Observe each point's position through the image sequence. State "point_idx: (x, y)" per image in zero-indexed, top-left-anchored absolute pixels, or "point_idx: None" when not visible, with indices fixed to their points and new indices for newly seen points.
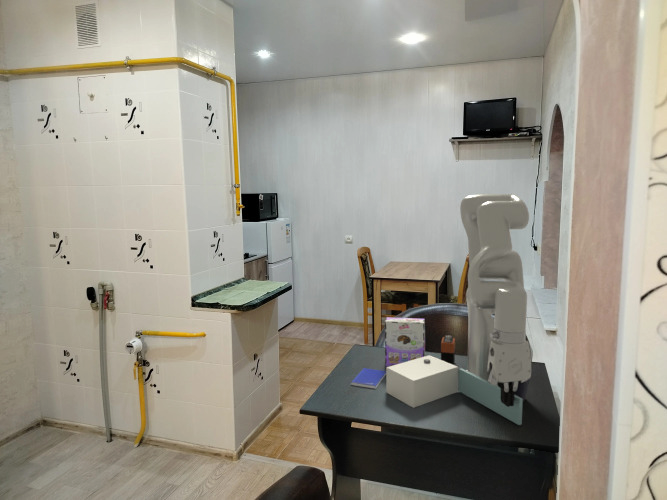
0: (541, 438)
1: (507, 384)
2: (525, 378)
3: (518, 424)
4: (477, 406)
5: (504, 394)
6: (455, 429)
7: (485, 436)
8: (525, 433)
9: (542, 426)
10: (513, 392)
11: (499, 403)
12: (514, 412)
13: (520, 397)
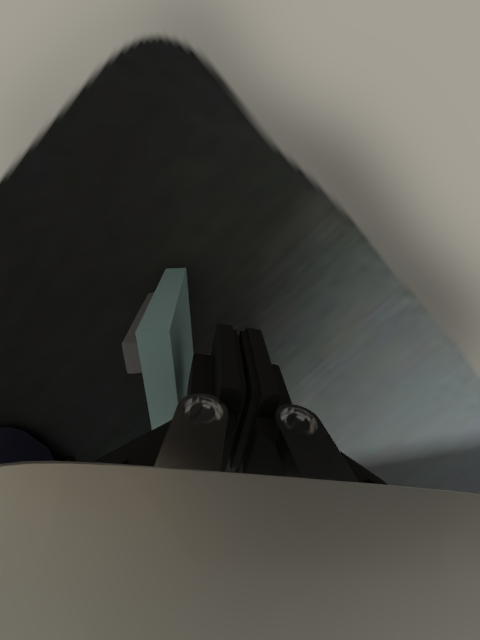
0: (158, 118)
1: (308, 470)
2: (49, 485)
3: (185, 270)
4: None
5: (288, 401)
6: (436, 356)
7: (387, 266)
8: (201, 203)
9: (60, 216)
10: (226, 384)
11: None
12: (185, 318)
13: (2, 443)
